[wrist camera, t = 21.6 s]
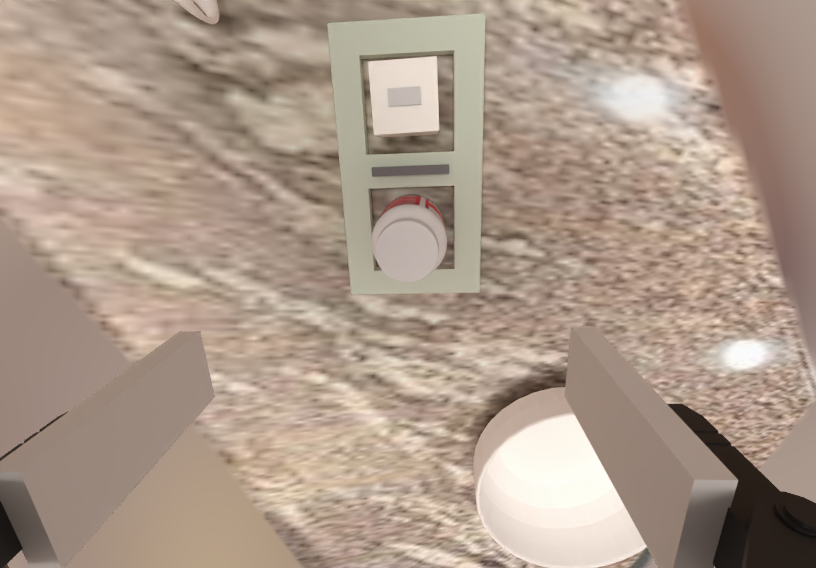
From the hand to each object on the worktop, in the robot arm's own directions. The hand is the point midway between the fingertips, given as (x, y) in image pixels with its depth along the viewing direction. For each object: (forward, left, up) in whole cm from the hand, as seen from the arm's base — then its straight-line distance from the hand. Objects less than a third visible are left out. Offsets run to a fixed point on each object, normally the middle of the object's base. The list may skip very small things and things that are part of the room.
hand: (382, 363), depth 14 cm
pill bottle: (0, 0, -27) cm, 27 cm away
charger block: (-11, 0, -27) cm, 29 cm away
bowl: (+25, +15, -27) cm, 40 cm away
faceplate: (-6, 0, -27) cm, 27 cm away
